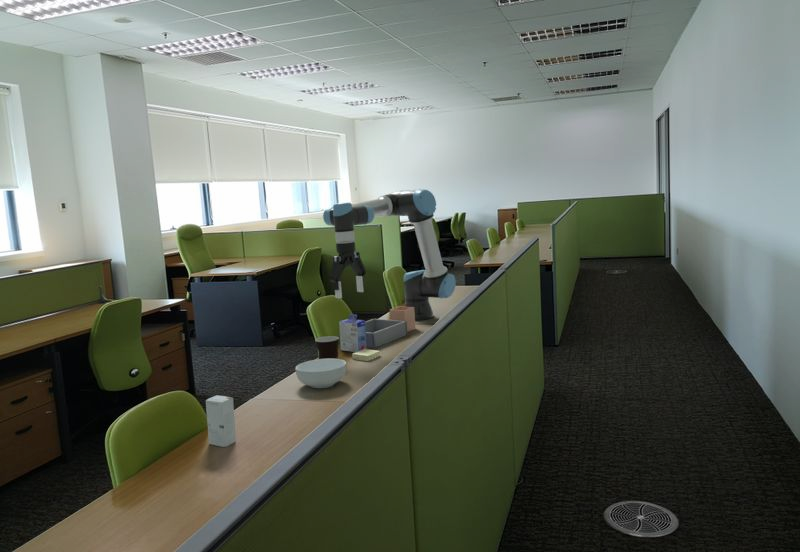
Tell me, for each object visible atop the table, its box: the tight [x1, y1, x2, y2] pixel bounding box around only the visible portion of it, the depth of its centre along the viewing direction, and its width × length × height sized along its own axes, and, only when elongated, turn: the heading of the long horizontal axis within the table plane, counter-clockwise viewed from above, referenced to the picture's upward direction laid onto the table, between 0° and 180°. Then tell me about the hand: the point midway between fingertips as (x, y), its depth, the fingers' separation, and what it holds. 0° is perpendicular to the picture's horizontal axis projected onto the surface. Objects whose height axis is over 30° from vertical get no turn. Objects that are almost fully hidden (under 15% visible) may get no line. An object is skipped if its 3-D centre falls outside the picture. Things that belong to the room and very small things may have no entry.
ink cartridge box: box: [338, 313, 368, 353], centre depth 250 cm, size 10×6×14 cm, turn 55°
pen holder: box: [389, 305, 417, 333], centre depth 281 cm, size 8×8×10 cm
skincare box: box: [205, 394, 237, 448], centre depth 162 cm, size 6×4×12 cm
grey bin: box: [365, 318, 408, 349], centre depth 267 cm, size 24×18×6 cm
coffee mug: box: [314, 335, 340, 359], centre depth 232 cm, size 12×9×10 cm
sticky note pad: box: [351, 348, 381, 362], centre depth 238 cm, size 8×8×2 cm
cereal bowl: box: [295, 358, 348, 389], centre depth 207 cm, size 17×17×7 cm
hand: (349, 295), depth 248 cm, fingers open, 13 cm apart
